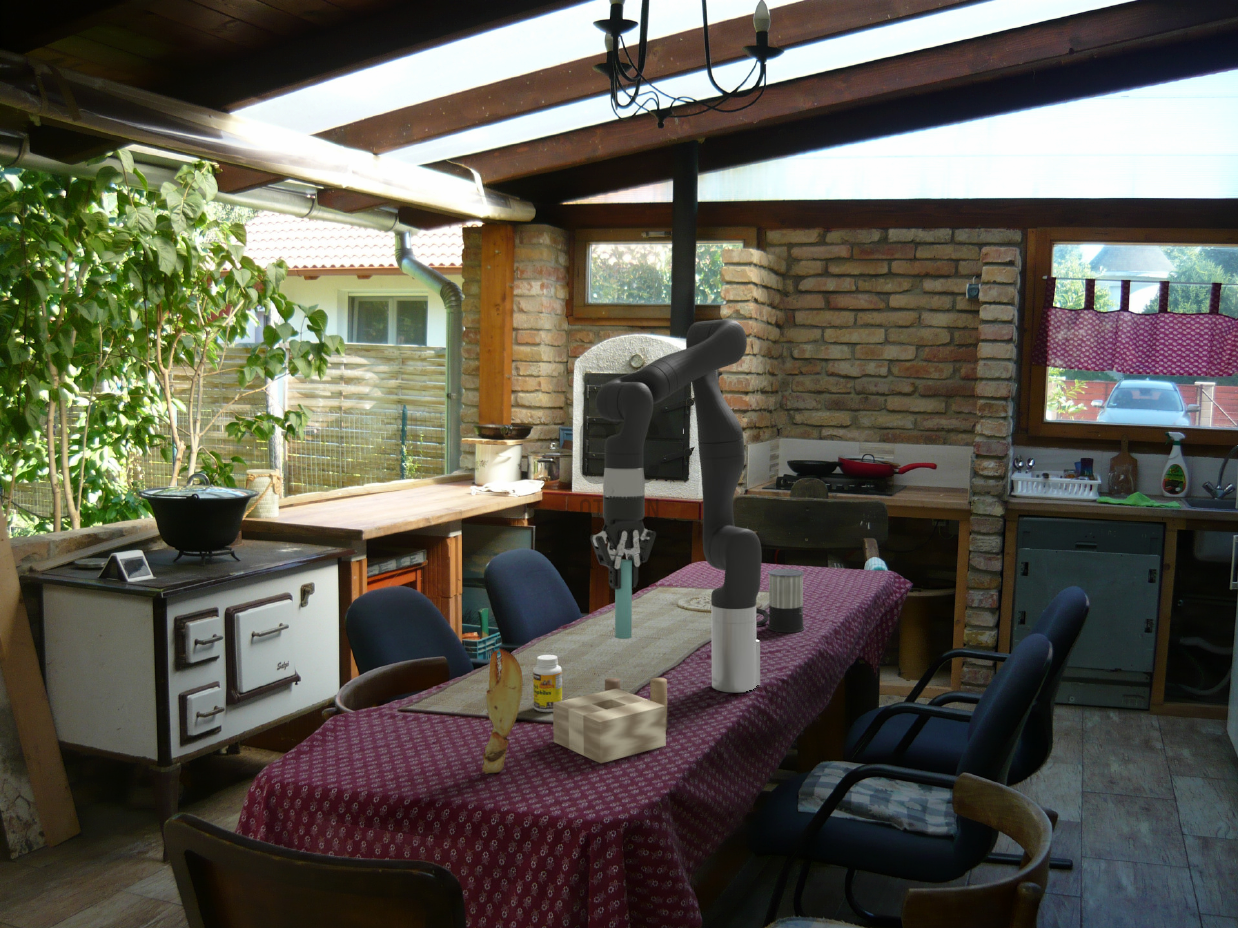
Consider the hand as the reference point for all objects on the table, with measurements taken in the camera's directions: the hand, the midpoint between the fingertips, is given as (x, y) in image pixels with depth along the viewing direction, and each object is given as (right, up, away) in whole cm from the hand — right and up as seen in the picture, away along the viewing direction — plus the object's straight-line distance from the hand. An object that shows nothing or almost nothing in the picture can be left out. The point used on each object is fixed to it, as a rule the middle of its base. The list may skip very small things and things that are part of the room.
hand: (623, 587), depth 195 cm
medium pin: (+7, -26, +1) cm, 27 cm away
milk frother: (+39, -20, +82) cm, 92 cm away
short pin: (-2, -25, +12) cm, 28 cm away
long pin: (0, -9, +1) cm, 9 cm away
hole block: (-2, -26, -7) cm, 28 cm away
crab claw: (-20, -28, -21) cm, 40 cm away
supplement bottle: (-15, -25, +14) cm, 32 cm away
